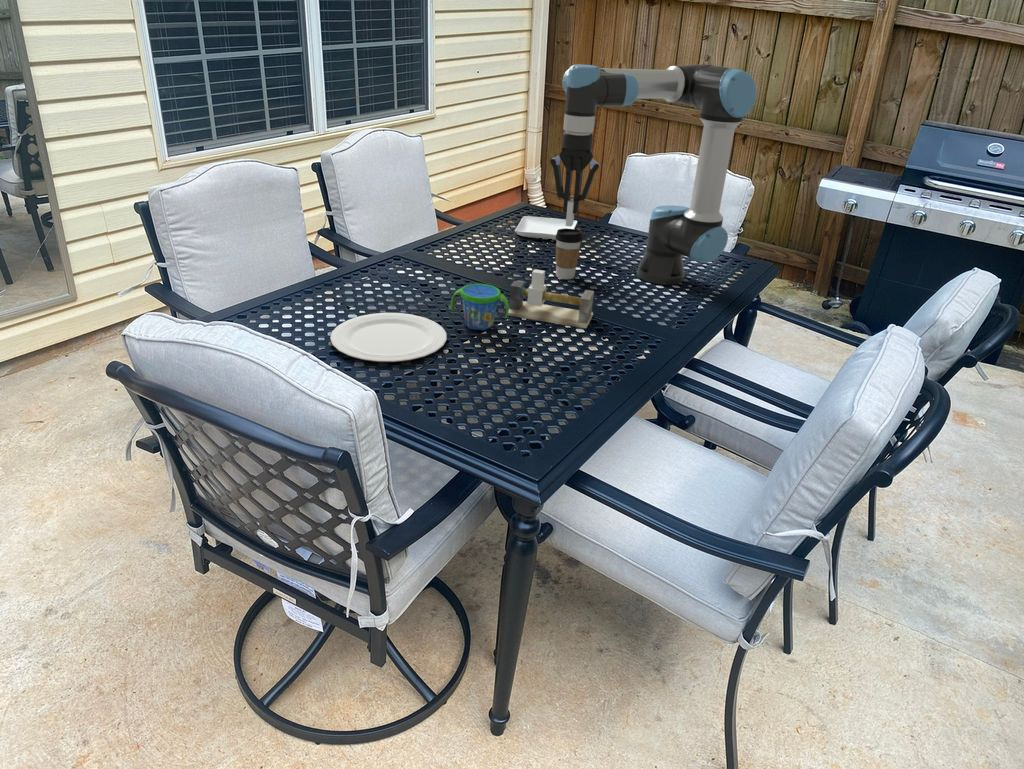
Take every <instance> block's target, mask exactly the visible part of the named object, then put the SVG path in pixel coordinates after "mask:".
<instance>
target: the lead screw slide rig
mask: <svg viewBox="0 0 1024 769" xmlns="http://www.w3.org/2000/svg"><path fill="white" fill-rule="evenodd" d="M509 286H510V288H509V289H510V290H509V301H508V303H509V312H508V315H507V316H508V317H509V316H510V317H517V318H520V319H521V318H523V319H528V320H533V321H539V322H546V323H551V324H558V325H562V326H567V327H568V326H569V327H575V328H580V329H587V328H588V326H589V324H590V322H591V320H592V318H593V317H594V312H593V305H594V304H593V302H594V294H595V290H588V289H585V290H584V292H583V293H582V295H581V297H578V296H573V295H566V294H562V293H561V294H560V293H554V292H549V291H546V292H543V295H542V299H543V300H545V301H549V302H555V303H556V302H557V303H563V304H568V305H573V306H574V305H575V306H579V309H573V308H566V307H560V306H555V305H551V304H550V305H549V304H544V303H543V305H542V306H541V307H540V306H534V305H528V304H527V301H526V300H525V301H524V298H528V288H527V287H525V281H520V280H514V281H513V282H512V283H511V284H510V285H509Z"/></svg>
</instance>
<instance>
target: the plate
mask: <svg viewBox="0 0 1024 769" xmlns="http://www.w3.org/2000/svg"><path fill="white" fill-rule="evenodd" d="M447 336H448V335H447V332H446V330H445V329H444V327H443V326H441V325H440V324H439V323H437V322H436V321H433V320H431V319H429V318H426V317H424V316H420V315H415V314H410V313H403V312H402V313H401V312H380V313H378V312H377V313H369V314H364V315H359V316H357V317H353V318H350V319H347V320H346V321H344V322H342V323H340V324H339V325H337V326H336V327H335V328H334V329H333V330H332V331H331V334H330V343H331V345H332V346H333V347H334V348H335V349H336V350H337V351H338V352H340V353H342V354H344V355H346V356H348V357H350V358H351V357H352V358H354V359H358V360H361V361H366V362H367V361H369V362H374V363H375V362H376V363H399V362H408V361H413V360H418V359H421V358H425V357H428V356H431V355H432V354H434V353H437V351H439V350H440V349H441V348H443V346H445V343H446V342H447V339H448V337H447Z"/></svg>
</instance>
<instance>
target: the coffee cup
mask: <svg viewBox="0 0 1024 769" xmlns="http://www.w3.org/2000/svg"><path fill="white" fill-rule="evenodd" d="M555 241H556V244H555V277H557V278H559V279H561V280H573V279H575V275H576V270H577V265H578V260H579V255H580V250H581V242H582V241H583V232H582V230H580V229H575V228H574V229H559V230H557V234H556V240H555Z"/></svg>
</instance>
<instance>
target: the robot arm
mask: <svg viewBox="0 0 1024 769" xmlns="http://www.w3.org/2000/svg"><path fill="white" fill-rule="evenodd" d="M562 89H563V91H564V92H565V106H564V116H563V128H562V129H563V131H564V132H563V133H562V141H561V150H560V152H559V153H558V155H557V156H555V157H554V156H553V157H552V158H551V159H550V160H549V162H550V165H551V166H552V168H553V176H554V181H555V189H556V193H557V194H556V195H557V197H558V198H561V199H562V200H563V206H562V207H563V208H562V211H563V213H566V217H565V220H566V226H569V227H571V226H572V225H573V221H574V219H575V214H576V215H577V214H578V213H579V208H580V207H579V206H580V201H581V202H582V201H585V200H587V198H588V194H589V192H590V189H591V187H592V184H593V181H594V177H595V175H596V172H597V171H598V169H600V167H601V162H597V161H596V160H595V159H594V156H593V154H592V153H593V152H592V150H593V149H592V148H593V138H594V135H593V132H594V128H595V120H596V110H597V107H598V108H599V107H621V108H622V107H625V106H626V107H627V106H631V105H632V104H633V103H634V102H636V100H637V99H639V100H640V99H644V100H645V99H649V100H650V99H651V100H653V99H655V100H656V99H659V100H661V99H662V100H663V99H664V100H665V101H666V102H668V103H678V104H682V105H687V106H689V107H693V108H697V109H700V114H699V120H700V121H701V122H702V125H703V129H702V130H703V131H702V134H701V142H700V147H699V153H698V160H697V164H696V171H695V177H694V182H693V188H692V193H691V200H690V204H689V205H690V206H689V207H688V206H683V205H660V206H656V207H654V208H653V209H652V211H651V216H650V218H649V225H648V226H649V227H648V234H647V240H646V241H647V242H646V248H645V252H644V255H643V257H642V258H641V261H640V262H639V265H638V267H637V271H636V275H637V277H638V278H639V279H641V280H642V281H645V282H647V283H648V282H649V283H651V284H656V285H665V286H666V285H668V286H669V285H676V284H681V283H682V282H684V278H685V266H684V261H683V256H684V257H687V258H689V259H691V260H692V261H695V262H698V263H702V264H708V263H711V262H713V261H714V260H716V259H717V258H719V256H720V255H722V253H723V252H724V250H725V248H726V247H727V244H728V239H729V234H728V232H727V230H726V229H725V228H724V227H723V221H724V216H723V215H722V214H721V213H720V209H721V204H722V198H723V193H724V187H725V184H726V179H727V178H726V177H727V173H728V167H729V162H730V156H731V151H732V146H733V140H734V135H735V131H736V128H737V127H738V126H739V125H740V124H742V123H743V119H744V117H745V116H747V115H748V114H749V113H750V112H751V109H753V107H754V105H755V103H756V99H757V86H756V82H755V80H754V79H753V76H752V75H751V74H750V72H747V71H745V70H741V69H739V68H735V67H728V66H727V67H725V66H720V65H718V66H717V65H712V64H706V63H705V64H704V63H703V64H691V65H689V64H688V65H671V66H669V67H667V68H666V69H652V68H651V69H648V68H611V67H610V68H606V67H604V68H603V67H602V68H600V67H599V66H597V65H593V64H580V63H579V64H572V65H571V66H570V67H569V68H568V69H567V70H566V71H565V72H564V74H563V77H562ZM561 163H562V164H563V165H564V167H565V182H564V185H563V176H562V172H561V171H562V170H561ZM589 164H590V165H589ZM588 165H589V169H590V171H589V172H588V175H587V178H586V181H585V184H584V187H583V190H581V189H582V180H583V173H584V170H585V169H586V168H587V166H588ZM573 172H575V179H574V180H575V181H574V192H573V199H572V198H571V197H572V195H571V193H572V185H573V184H572V182H573V174H574V173H573ZM581 191H582V193H581Z"/></svg>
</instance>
